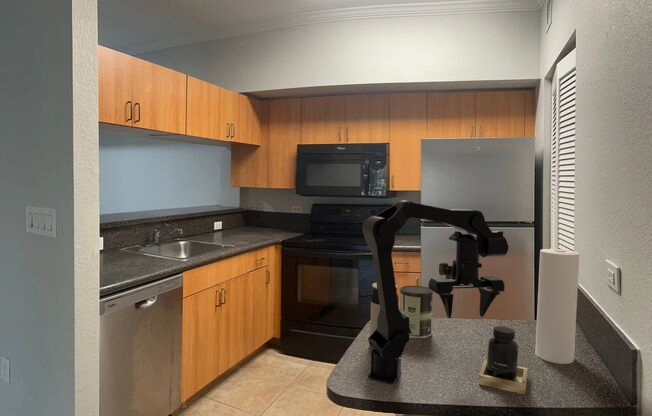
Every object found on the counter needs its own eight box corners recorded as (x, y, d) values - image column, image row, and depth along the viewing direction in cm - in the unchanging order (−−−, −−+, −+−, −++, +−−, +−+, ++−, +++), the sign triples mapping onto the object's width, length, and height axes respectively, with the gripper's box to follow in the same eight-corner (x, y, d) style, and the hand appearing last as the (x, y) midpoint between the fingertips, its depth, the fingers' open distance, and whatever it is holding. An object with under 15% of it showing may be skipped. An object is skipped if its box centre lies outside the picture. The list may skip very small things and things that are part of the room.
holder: (478, 384, 99) (479, 375, 98) (484, 367, 107) (484, 359, 107) (525, 394, 94) (525, 385, 94) (527, 376, 103) (527, 368, 102)
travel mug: (402, 346, 121) (404, 285, 120) (385, 353, 115) (386, 290, 114) (382, 338, 127) (383, 280, 126) (364, 344, 121) (365, 284, 120)
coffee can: (427, 327, 137) (428, 285, 136) (435, 339, 127) (436, 293, 126) (396, 326, 137) (397, 284, 136) (401, 338, 127) (402, 293, 126)
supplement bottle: (494, 384, 97) (497, 334, 96) (481, 371, 104) (483, 324, 103) (522, 383, 98) (525, 334, 97) (507, 370, 105) (509, 324, 104)
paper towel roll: (579, 365, 110) (585, 253, 108) (541, 361, 111) (546, 251, 110) (566, 351, 119) (571, 248, 117) (531, 348, 121) (535, 246, 119)
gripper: (483, 251, 116) (481, 306, 117) (420, 253, 113) (419, 309, 114) (507, 259, 105) (504, 319, 106) (439, 260, 102) (437, 322, 103)
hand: (465, 317), depth 108 cm, fingers open, 9 cm apart
